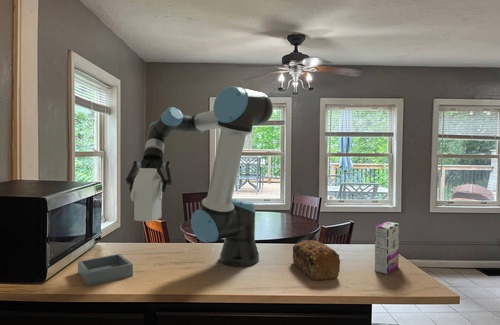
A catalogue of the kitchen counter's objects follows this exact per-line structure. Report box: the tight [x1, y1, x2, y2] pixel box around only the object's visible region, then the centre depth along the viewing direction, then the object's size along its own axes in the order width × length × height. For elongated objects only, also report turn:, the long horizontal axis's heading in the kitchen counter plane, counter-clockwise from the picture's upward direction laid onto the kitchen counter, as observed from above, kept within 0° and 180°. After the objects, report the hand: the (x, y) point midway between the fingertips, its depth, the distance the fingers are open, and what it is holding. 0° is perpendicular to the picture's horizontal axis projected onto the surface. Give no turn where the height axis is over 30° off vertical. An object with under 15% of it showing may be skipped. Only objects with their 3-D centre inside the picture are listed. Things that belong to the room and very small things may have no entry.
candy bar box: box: [374, 221, 400, 275], centre depth 119 cm, size 11×5×16 cm, turn 137°
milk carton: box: [133, 167, 162, 223], centre depth 121 cm, size 7×7×19 cm
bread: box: [292, 239, 341, 281], centre depth 118 cm, size 19×11×10 cm, turn 13°
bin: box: [77, 253, 134, 287], centre depth 112 cm, size 14×14×4 cm
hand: (146, 198), depth 118 cm, fingers closed on milk carton, 9 cm apart
